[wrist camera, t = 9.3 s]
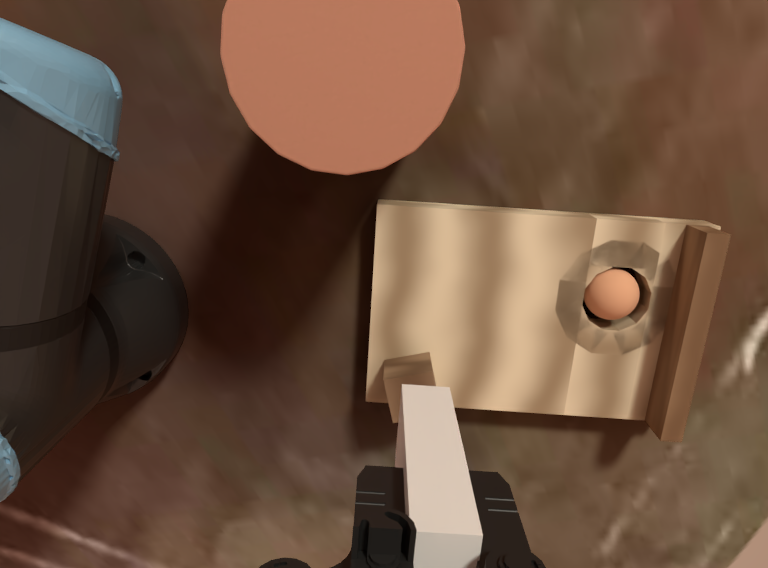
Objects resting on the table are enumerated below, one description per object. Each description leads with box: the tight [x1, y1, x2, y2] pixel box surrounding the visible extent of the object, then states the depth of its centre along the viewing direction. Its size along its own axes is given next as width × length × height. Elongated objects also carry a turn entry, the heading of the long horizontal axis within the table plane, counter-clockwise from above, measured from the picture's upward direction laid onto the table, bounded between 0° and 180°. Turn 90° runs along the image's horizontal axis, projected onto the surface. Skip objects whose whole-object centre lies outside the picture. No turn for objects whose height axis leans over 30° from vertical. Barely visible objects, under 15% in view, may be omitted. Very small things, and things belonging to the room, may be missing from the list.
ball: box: [584, 267, 640, 320], centre depth 45 cm, size 4×4×4 cm
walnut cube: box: [383, 352, 436, 423], centre depth 45 cm, size 4×4×4 cm
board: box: [366, 199, 731, 442], centre depth 45 cm, size 25×16×6 cm, turn 86°
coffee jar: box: [220, 0, 465, 175], centre depth 34 cm, size 11×11×18 cm
